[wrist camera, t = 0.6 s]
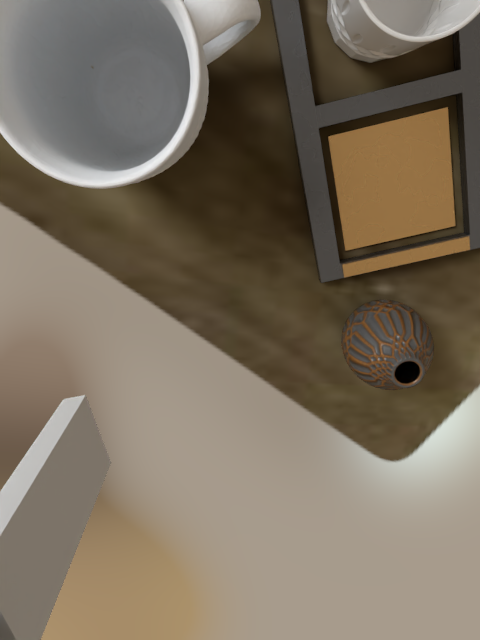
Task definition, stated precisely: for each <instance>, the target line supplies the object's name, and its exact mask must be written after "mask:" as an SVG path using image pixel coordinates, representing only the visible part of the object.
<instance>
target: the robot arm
mask: <svg viewBox="0 0 480 640" xmlns="http://www.w3.org/2000/svg"><path fill="white" fill-rule="evenodd" d="M110 464H111V461H110V459H109V456H108V453H107V451H106V448H105V445H104V443H103V440H102V437H101V435H100V432H99V430H98V427H97V424H96V421H95V419H94V416H93V413H92V411H91V408H90V406H89V402H88V400H87V397H86V395H84V396H78V397H73V398H68V399H63V401H62V402H61V404H60V405H59V406H58V408H57V410H56V411H55V412H54V414H53V415H52V417H51V418H50V420H49V421H48V423H47V424H46V426H45V427H44V429H43V430H42V431H41V433H40V434H39V436H38V437H37V439H36V440H35V441H34V443H33V444H32V446H31V447H30V449H29V450H28V452H27V453H26V455H25V456H24V458H23V459H22V460H21V462H20V463H19V465H18V466H17V468H16V469H15V471H14V472H13V474H12V475H11V477H10V478H9V480H8V481H7V482H6V484H5V485H4V487H3V488H2V490H1V491H0V640H41V637H42V635H43V632H44V630H45V627H46V625H47V622H48V620H49V617H50V615H51V612H52V609H53V607H54V605H55V602H56V600H57V597H58V594H59V592H60V590H61V587H62V584H63V582H64V579H65V577H66V574H67V572H68V569H69V567H70V564H71V562H72V559H73V557H74V554H75V552H76V549H77V547H78V544H79V541H80V539H81V537H82V534H83V532H84V529H85V527H86V524H87V521H88V519H89V517H90V514H91V512H92V509H93V507H94V504H95V502H96V499H97V496H98V494H99V491H100V489H101V486H102V484H103V481H104V479H105V476H106V474H107V471H108V469H109V466H110Z"/></svg>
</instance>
